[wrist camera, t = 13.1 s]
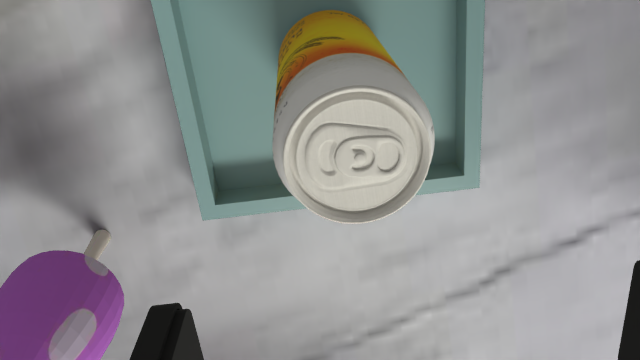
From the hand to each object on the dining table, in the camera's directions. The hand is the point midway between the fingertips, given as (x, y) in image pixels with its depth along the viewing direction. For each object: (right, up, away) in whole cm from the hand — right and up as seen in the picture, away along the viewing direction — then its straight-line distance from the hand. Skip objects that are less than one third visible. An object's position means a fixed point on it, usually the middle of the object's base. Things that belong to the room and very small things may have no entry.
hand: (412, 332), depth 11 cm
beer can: (-1, +11, +21) cm, 24 cm away
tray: (-2, +11, +22) cm, 25 cm away
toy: (-17, -1, +27) cm, 32 cm away
